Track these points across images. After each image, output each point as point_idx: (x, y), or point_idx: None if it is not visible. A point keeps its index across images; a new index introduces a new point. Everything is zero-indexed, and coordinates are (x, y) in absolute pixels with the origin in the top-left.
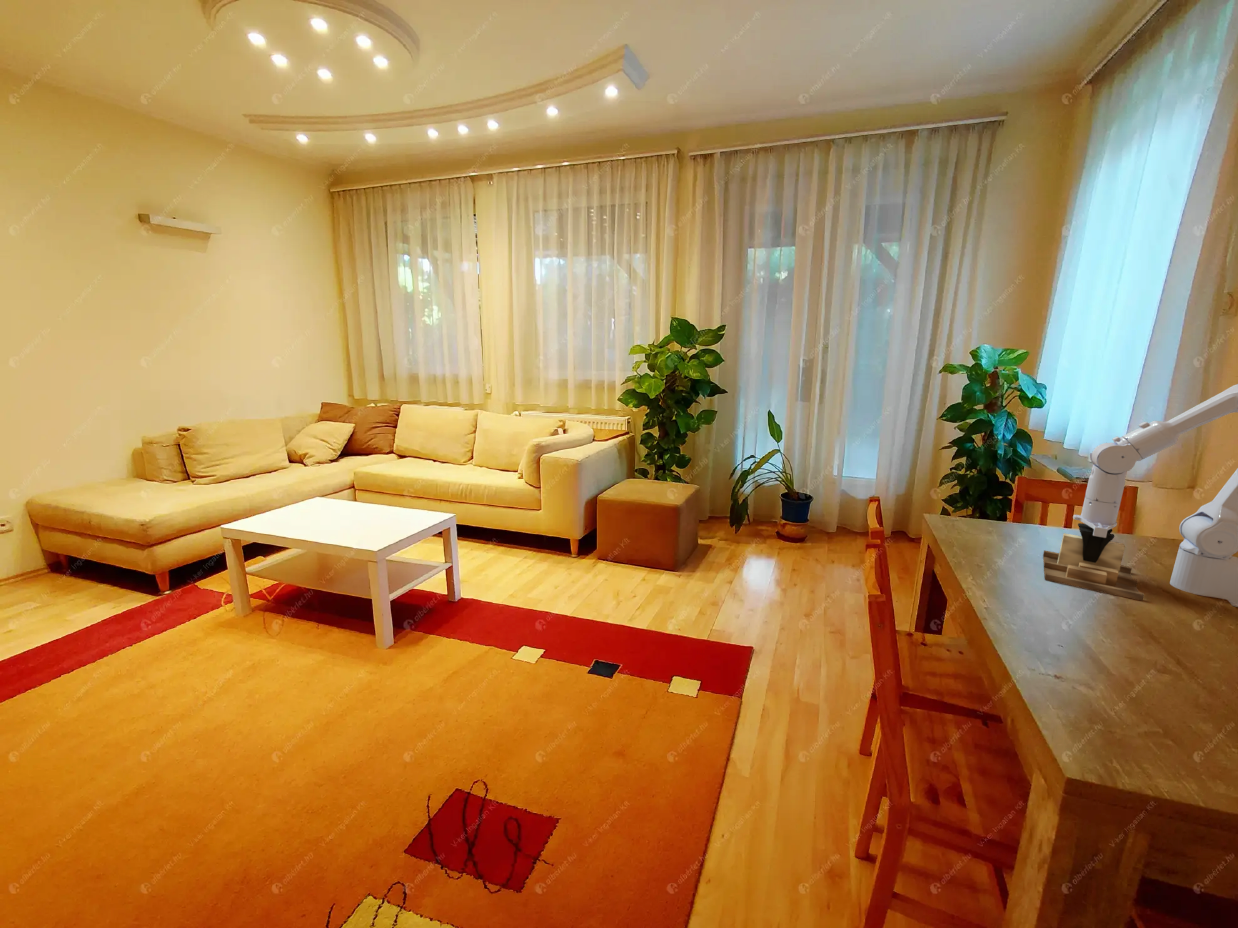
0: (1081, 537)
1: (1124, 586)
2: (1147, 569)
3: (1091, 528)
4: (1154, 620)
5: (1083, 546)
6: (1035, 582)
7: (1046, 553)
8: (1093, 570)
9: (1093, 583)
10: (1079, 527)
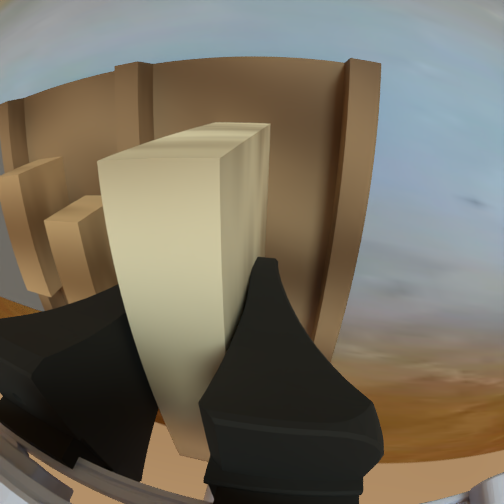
0: (170, 323)
1: None
2: (415, 398)
3: (69, 444)
4: (25, 310)
5: (116, 286)
6: (25, 78)
7: (349, 73)
8: (31, 259)
9: None
10: (24, 370)
